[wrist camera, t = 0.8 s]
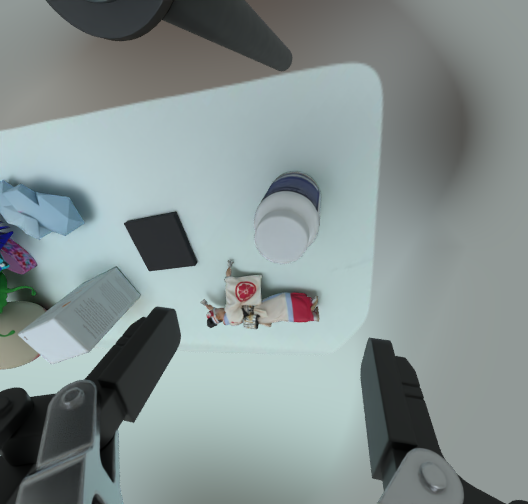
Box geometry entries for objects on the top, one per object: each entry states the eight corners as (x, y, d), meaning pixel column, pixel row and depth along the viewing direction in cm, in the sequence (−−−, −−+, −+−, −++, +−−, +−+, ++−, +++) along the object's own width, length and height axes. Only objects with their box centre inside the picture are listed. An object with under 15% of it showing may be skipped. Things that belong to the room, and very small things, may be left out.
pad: (127, 220, 34) (123, 223, 33) (176, 211, 32) (172, 213, 31) (152, 268, 37) (148, 271, 36) (197, 262, 35) (195, 265, 34)
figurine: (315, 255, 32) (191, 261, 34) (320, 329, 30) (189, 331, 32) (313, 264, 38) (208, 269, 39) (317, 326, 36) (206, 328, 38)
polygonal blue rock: (42, 221, 40) (3, 242, 36) (8, 173, 35) (-40, 191, 32) (103, 232, 35) (65, 257, 31) (72, 177, 30) (24, 199, 26)
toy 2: (-76, 387, 36) (-1, 383, 45) (15, 352, 36) (70, 355, 46) (-67, 314, 39) (0, 324, 49) (15, 284, 40) (66, 300, 49)
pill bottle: (262, 176, 28) (235, 213, 19) (316, 165, 26) (310, 198, 18) (275, 225, 30) (255, 275, 22) (325, 216, 28) (323, 268, 20)
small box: (108, 309, 43) (50, 366, 34) (82, 282, 41) (14, 335, 32) (142, 295, 40) (89, 354, 31) (116, 265, 38) (52, 319, 29)
